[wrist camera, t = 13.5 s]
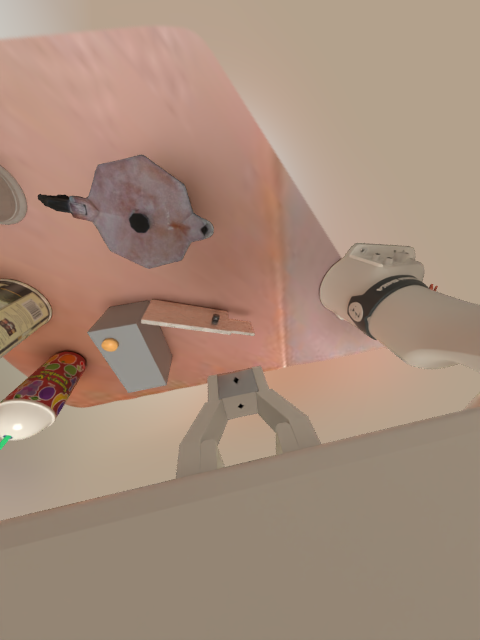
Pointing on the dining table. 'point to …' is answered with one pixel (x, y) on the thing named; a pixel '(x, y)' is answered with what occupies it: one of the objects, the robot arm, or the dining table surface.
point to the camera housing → (132, 347)
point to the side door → (194, 318)
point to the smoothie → (40, 397)
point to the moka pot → (138, 211)
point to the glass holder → (11, 199)
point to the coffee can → (20, 313)
